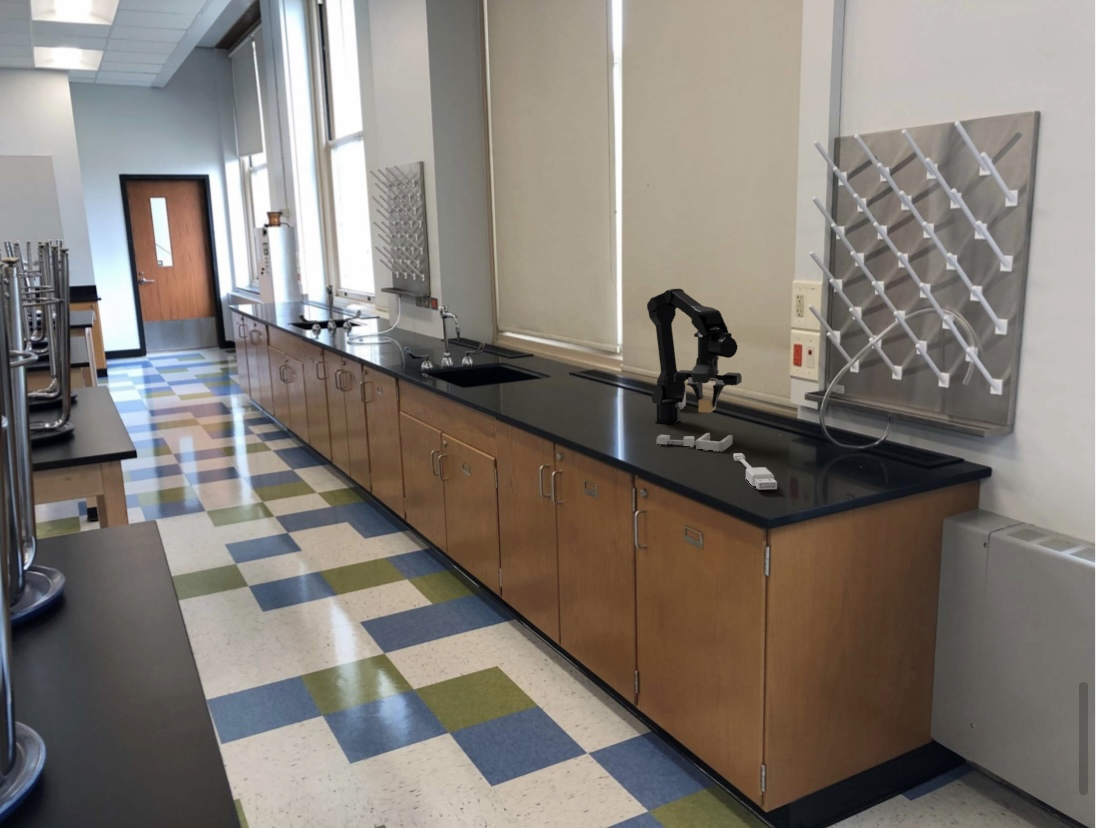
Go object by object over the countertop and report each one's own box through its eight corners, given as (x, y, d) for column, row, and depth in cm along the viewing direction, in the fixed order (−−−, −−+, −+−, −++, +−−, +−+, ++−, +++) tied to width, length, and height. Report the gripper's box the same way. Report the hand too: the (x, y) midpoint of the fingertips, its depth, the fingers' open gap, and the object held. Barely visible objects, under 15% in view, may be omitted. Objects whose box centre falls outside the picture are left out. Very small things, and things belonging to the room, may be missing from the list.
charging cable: (746, 460, 229) (746, 448, 228) (778, 492, 197) (778, 478, 196) (727, 461, 229) (727, 449, 228) (756, 493, 197) (756, 479, 196)
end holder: (695, 449, 237) (695, 440, 237) (706, 441, 246) (706, 433, 245) (722, 451, 234) (722, 442, 233) (732, 443, 242) (732, 435, 242)
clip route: (654, 444, 243) (654, 436, 243) (660, 441, 247) (660, 433, 247) (695, 448, 238) (695, 440, 237) (701, 445, 242) (701, 436, 241)
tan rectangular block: (698, 411, 249) (698, 400, 248) (704, 407, 254) (704, 396, 253) (710, 412, 247) (710, 400, 247) (715, 408, 253) (716, 397, 252)
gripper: (667, 356, 245) (667, 409, 248) (731, 359, 236) (730, 414, 239) (680, 351, 254) (680, 402, 258) (742, 353, 246) (741, 406, 249)
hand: (707, 406), depth 251 cm, fingers closed on tan rectangular block, 4 cm apart
